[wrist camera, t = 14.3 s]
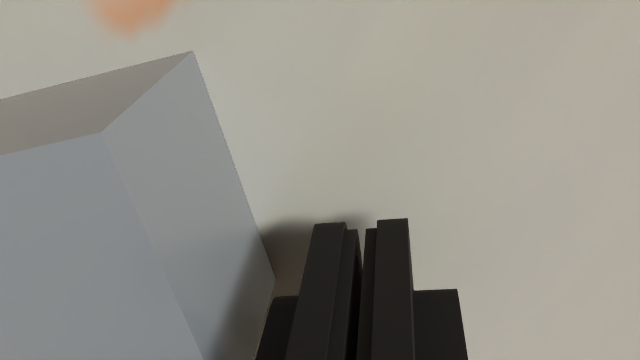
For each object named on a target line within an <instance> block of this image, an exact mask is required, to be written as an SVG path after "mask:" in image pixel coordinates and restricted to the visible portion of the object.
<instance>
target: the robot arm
mask: <svg viewBox="0 0 640 360" xmlns="http://www.w3.org/2000/svg"><path fill="white" fill-rule="evenodd" d="M255 360H468V356H467V349H466V343H465V336H464V330H463V323H462V316H461V310H460V303H459V297H458V291H457V289H443V290H420V291H414V289H413V276H412V264H411V252H410V239H409V227H408V218H404V219H388V220H377V228H370V229H366V235H365V248H364V262H363V267H362V259H361V251H360V243H359V236H358V230H357V229H353V230H347V227H346V223H345V222H339V223H322V224H315V225H314V229H313V233H312V238H311V243H310V247H309V252H308V256H307V261H306V265H305V270H304V274H303V279H302V283H301V288H300V293H299V296H280V297H275V298H274V299H273V300H272V303H271V306H270V309H269V313H268V317H267V320H266V324H265V327H264V331H263V334H262V338H261V342H260V345H259V349H258V352H257V356H256V359H255Z"/></svg>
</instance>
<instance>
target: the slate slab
mask: <svg viewBox="0 0 640 360" xmlns="http://www.w3.org/2000/svg"><path fill="white" fill-rule="evenodd" d="M275 281H276V278H275V276H274V273H273V270H272V267H271V265H270V262H269V259H268V256H267V254H266V251H265V248H264V245H263V242H262V240H261V237H260V234H259V231H258V229H257V226H256V223H255V220H254V218H253V215H252V212H251V209H250V207H249V204H248V201H247V198H246V196H245V193H244V190H243V187H242V184H241V182H240V179H239V176H238V173H237V171H236V168H235V165H234V162H233V160H232V157H231V154H230V151H229V149H228V146H227V143H226V140H225V137H224V135H223V132H222V129H221V126H220V124H219V121H218V118H217V115H216V113H215V110H214V107H213V104H212V102H211V99H210V96H209V93H208V91H207V88H206V85H205V82H204V79H203V77H202V74H201V71H200V68H199V66H198V63H197V60H196V57H195V55H194V52H193V51H189V52H185V53H181V54H177V55H173V56H170V57H166V58H162V59H158V60H154V61H150V62H146V63H142V64H138V65H134V66H130V67H126V68H122V69H118V70H114V71H110V72H106V73H102V74H99V75H95V76H91V77H87V78H83V79H79V80H75V81H71V82H67V83H63V84H59V85H55V86H51V87H47V88H43V89H39V90H35V91H31V92H28V93H24V94H20V95H16V96H12V97H8V98H4V99H0V360H252V359H253V355H254V352H255V349H256V345H257V342H258V339H259V335H260V332H261V328H262V325H263V322H264V318H265V315H266V311H267V308H268V305H269V301H270V298H271V294H272V291H273V288H274V284H275Z"/></svg>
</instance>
